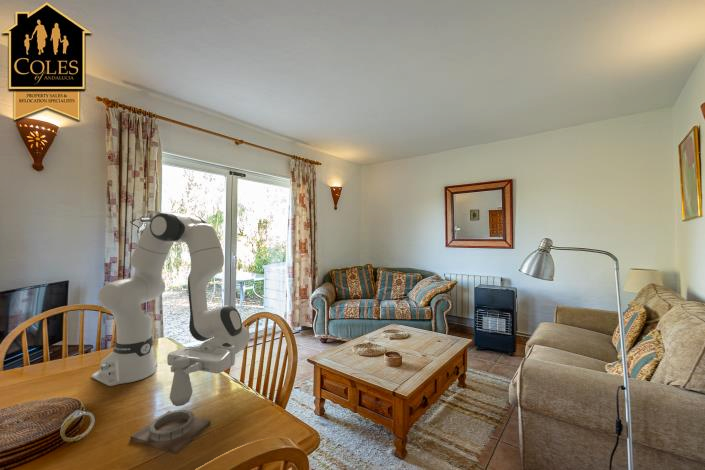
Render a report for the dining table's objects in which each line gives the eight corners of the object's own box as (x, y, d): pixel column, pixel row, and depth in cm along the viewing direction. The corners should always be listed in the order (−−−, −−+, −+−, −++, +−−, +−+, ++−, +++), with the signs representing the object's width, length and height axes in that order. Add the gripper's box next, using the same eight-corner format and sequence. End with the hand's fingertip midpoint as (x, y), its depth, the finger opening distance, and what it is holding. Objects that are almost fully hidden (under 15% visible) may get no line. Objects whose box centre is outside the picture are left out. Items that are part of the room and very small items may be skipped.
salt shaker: (177, 410, 83) (176, 364, 83) (165, 404, 86) (165, 360, 86) (196, 400, 88) (196, 356, 88) (185, 394, 91) (185, 352, 91)
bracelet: (61, 449, 77) (61, 419, 77) (59, 444, 79) (59, 414, 79) (96, 435, 83) (96, 406, 83) (92, 430, 85) (92, 402, 85)
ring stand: (130, 440, 81) (130, 428, 81) (169, 414, 92) (169, 404, 92) (176, 453, 76) (176, 441, 76) (210, 424, 88) (210, 413, 88)
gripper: (188, 339, 102) (150, 355, 89) (238, 346, 96) (206, 364, 83) (188, 357, 102) (150, 376, 89) (238, 365, 96) (206, 386, 83)
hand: (178, 370), depth 86 cm, fingers closed on salt shaker, 3 cm apart
